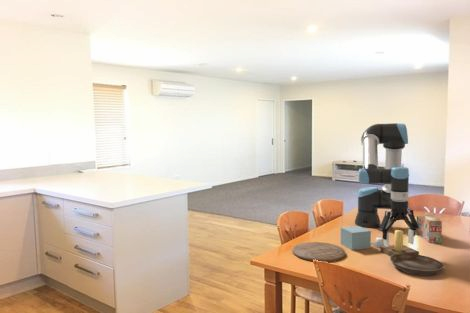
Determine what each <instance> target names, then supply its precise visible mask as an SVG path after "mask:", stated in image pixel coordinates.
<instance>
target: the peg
mask: <svg viewBox="0 0 470 313" xmlns="http://www.w3.org/2000/svg"><path fill="white" fill-rule="evenodd" d="M394 245H395V247H394V251H395V252H397V253H401V252H403V245H404V230H401V229H400V230H399V229H395V230H394Z"/></svg>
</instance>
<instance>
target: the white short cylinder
mask: <svg viewBox="0 0 470 313" xmlns="http://www.w3.org/2000/svg"><path fill="white" fill-rule="evenodd" d="M371 246H373V247H375V248H378V249H380V247H381V246H384V239H383V237H376V238H375V242H371Z"/></svg>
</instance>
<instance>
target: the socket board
mask: <svg viewBox="0 0 470 313" xmlns="http://www.w3.org/2000/svg"><path fill="white" fill-rule="evenodd" d="M394 247H395V244H389V247H387V246H381V247H380V248H379V249H380V252H381V253H383V254H385V255H387V256H389V257H391V256H393V255H396V254H416V255H420V251H418V250H415V249H413V248H411V247H409V246H406V245H405V244H403V252H401V253H397V252H395V251H394Z"/></svg>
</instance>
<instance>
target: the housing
mask: <svg viewBox="0 0 470 313" xmlns="http://www.w3.org/2000/svg"><path fill="white" fill-rule="evenodd" d="M371 233H372V231H371V230H370V229H367V228H366V227H362V226H358V225H354V226H353V225H352V226H343V227H342V226H341V227H340V245H342V246H344V247H345V248H346V249H349V250H351V251H357V250H358V251H359V250H366V249H371V246H372V245H371V243H372V242H371V235H372V234H371Z"/></svg>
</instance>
